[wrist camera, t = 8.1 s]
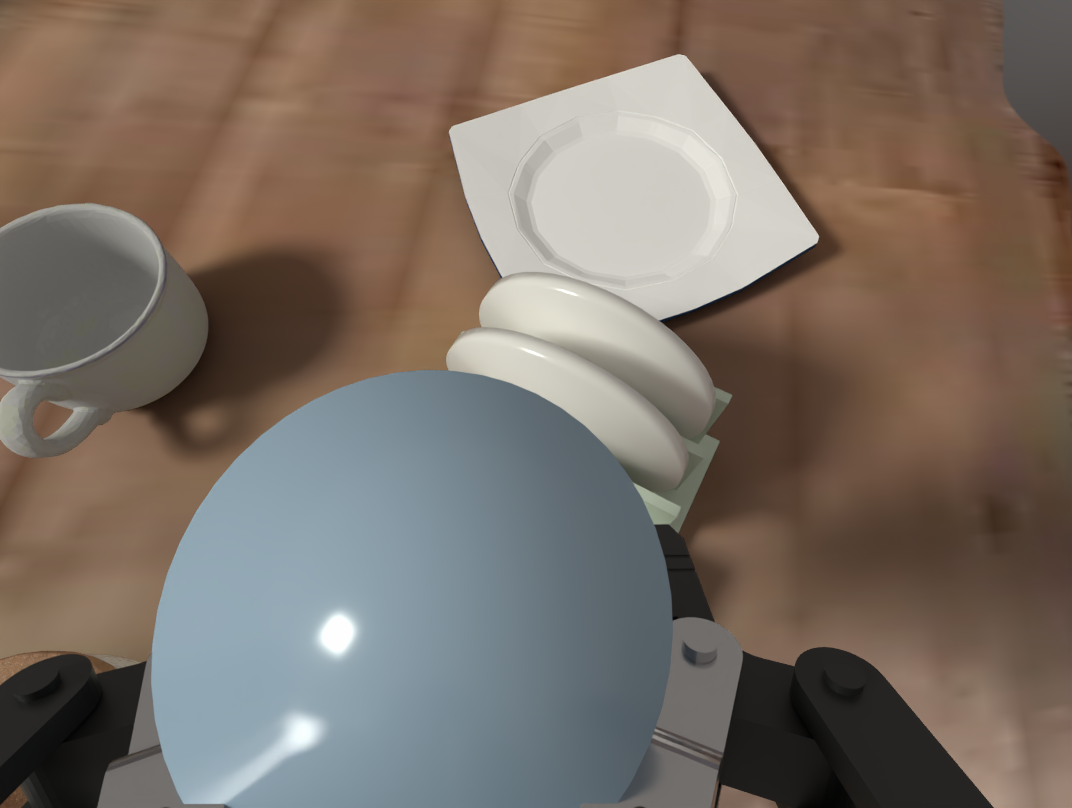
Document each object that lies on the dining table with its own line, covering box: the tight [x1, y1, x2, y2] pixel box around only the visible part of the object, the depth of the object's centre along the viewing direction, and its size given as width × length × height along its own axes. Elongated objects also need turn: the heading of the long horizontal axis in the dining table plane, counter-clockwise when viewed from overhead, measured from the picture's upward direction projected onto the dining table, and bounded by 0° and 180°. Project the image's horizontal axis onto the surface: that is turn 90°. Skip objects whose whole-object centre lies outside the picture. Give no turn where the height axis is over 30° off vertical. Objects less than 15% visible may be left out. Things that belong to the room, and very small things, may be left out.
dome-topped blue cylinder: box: [151, 370, 673, 808], centre depth 12 cm, size 6×6×11 cm
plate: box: [449, 54, 819, 322], centre depth 40 cm, size 20×20×3 cm
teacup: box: [0, 203, 208, 458], centre depth 33 cm, size 14×11×8 cm
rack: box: [459, 331, 732, 533], centre depth 29 cm, size 19×15×7 cm
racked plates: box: [446, 272, 716, 492], centre depth 27 cm, size 4×12×12 cm, turn 61°
